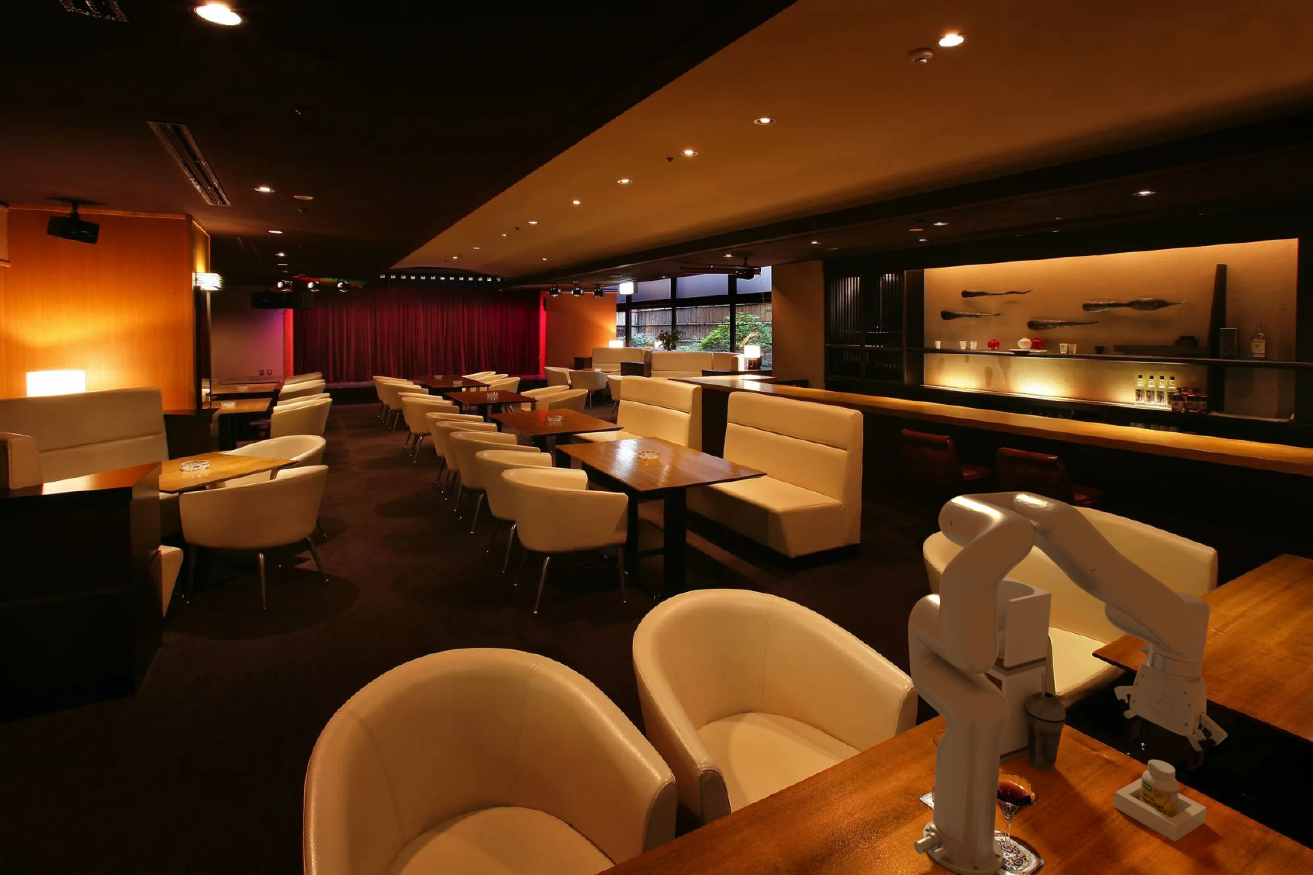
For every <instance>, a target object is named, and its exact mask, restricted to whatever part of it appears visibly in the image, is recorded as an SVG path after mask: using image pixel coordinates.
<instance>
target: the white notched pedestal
mask: <svg viewBox="0 0 1313 875" xmlns="http://www.w3.org/2000/svg"><path fill="white" fill-rule="evenodd" d="M1052 594H1053V593H1052V592H1050V591H1049V590H1045V589H1042V588H1040V587H1037V586H1034V585H1031V584H1028V583H1026V582H1024V581H1021V580H1018V579H1015V578H1013V577H1009V576H1008V575H1006V577H1005V578H1004V579H1003V581H1002V582H1001V584H1000V587H999V589H998V596H997V622H998V655H997V659H996V662H995V664H994V666H993V667H992V668H991V669H990V670H989V671H987V672H985V673H982V674H981V675H983V676H984V677H985V678H987V679H988V680H990V681H991V682H992V683H993V684H994V685H995V686H997V687H998V688H999V689H1000V691H1001V692H1002V693H1003V694H1004V696H1005V697H1006V699H1007V701H1008V704H1009V707H1010V718H1009V723H1008V726H1007V729H1006V732H1005V735H1004V738H1003V741H1002V746H1001V752H1000V761H999V765H1002V764H1004V763H1008V762H1010V761H1013V760H1016V759H1018V758H1021V757H1025V756H1028V723H1027V717H1026V710H1025V706H1026V704H1027V701H1028V699H1029V698H1030V697H1031V696H1032V695H1033V694H1035V693H1037V692H1042V679H1041V673H1044V683H1045V679H1046V667H1047V656H1048V655H1047V654H1048V642H1049V633H1050V632H1049V631H1050V629H1049V628H1050V618H1051V606H1052V597H1053V595H1052Z"/></svg>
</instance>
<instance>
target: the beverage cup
mask: <svg viewBox="0 0 1313 875" xmlns="http://www.w3.org/2000/svg"><path fill="white" fill-rule="evenodd" d="M1041 679H1042V692H1037V693H1035V694H1033V695H1032V696H1031V697H1030V698H1029V699H1028V701H1027V704H1026V706H1025V710H1026V717H1027V723H1028V755H1027V756H1028V764H1029V765H1030V766H1031V767H1032V768H1033V769H1035V770H1037V771H1040V772H1044V773H1050V772H1054V769H1055V765H1056V763H1057V762H1056V761H1057V759H1058V758H1057V756H1058V751H1059V747H1060V741H1061V736H1062V732H1063V728H1064V726H1065V724H1066V720H1067V715H1066V713H1067V712H1066V708H1065V706H1064V704H1063V702H1062V701H1061V700H1060V699H1059V697H1057V696H1056V695H1055V694H1053V693H1051V692H1048V691H1046V687H1045V686H1046V685H1045V682H1044V673H1041Z"/></svg>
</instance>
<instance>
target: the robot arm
mask: <svg viewBox="0 0 1313 875" xmlns="http://www.w3.org/2000/svg"><path fill="white" fill-rule="evenodd" d="M938 525H939V526H938V527H939V528H940V531H941V533H942V535H943V536H944V537H945V538H946V539H947V540H949V541H950V542H951V543H953V544H955V545H957V546H960V547H962V549H961V550H960V551H959V552H958V553H957V554H956V555H955V556H954V557H953V558H952V559H951V560H950V561H948V563H947V564H946V566H945V568H944V569H943V570H942V574H941V577H940V580H939V593H931V594H927V595H925V596H923V597H921V598H920V599H919V600H918V601H916V602H915V604H914V606H913V608H912V610H911V612H910V615H909V618H908V627H907V628H908V630H907V631H908V654H909V667H910V668H909V669H910V677H911V682H912V685H913V688H914V689H915V691H916V693H917V694H918V695H919V696H920V697H921V698H922V699H923V700H924V701H925V702H926V703H927V704H929V705H930V707H932V709H934V710H935V711H936V712H937V713H938V714H939V715H940V716H941V717H942V718H943V719H944V720H945V722H946V730H944V732H943V733H942V734H941V735H940V737H939V739H938V742H937V747H936V753H935V754H936V757H935V758H936V759H935V773H934V774H935V779H934V794H933V795H934V797H933V811H932V820H930V821H928V822H927V823H926V824H925V826H924V827H923V829H922V832H921V833H922V834H921V835H922V836H921V838H920V839H918V840H916V841H914V842H913V847H914V850H915V851H916V853H917V854H919V855H923V854H925V853H928V854H929V856H931V858H932V859H933V860H934V861H936V862H937V863H938V864H939V865H941V866H942V867H944V868H946V869H947V870H950V871H951V872H954V873H956V874H960V875H994V874H996V873H998V872H999V870H1000V869H1002V866H1003V863H1004V852H1003V849H1002V846H1001V844H1000V843H999V841H998V840H997V839H996V838H995V830H996V813H997V801H998V790H999V789H998V788H999V787H998V786H999V776H1000V775H999V773H1000V772H999V770H1000V764H999V761H1000V752H1001V746H1002V741H1003V738H1004V735H1005V732H1006V729H1007V726H1008V723H1009V718H1010V707H1009V704H1008V701H1007V699H1006V697H1005V696H1004V694H1003V693H1002V692H1001V691H1000V689H999V688H998V687H997V686H995V685H994V684H993V683H992V682H991V681H990V680H988V679H987V678H985V677H984V676H983V675H981V674H982V673H985V672H987V671H989V670H990V669H991V668H992V667H993V666H994V664H995V662H996V659H997V655H998V622H997V596H998V589H999V587H1000V584H1001V582H1002V581H1003V579H1004V578H1005V577H1006V576H1008V574H1009V573H1010V572H1011V571H1012V570H1013V569H1014V568H1015V567H1017V565H1019V564H1020V563H1021V562H1022V561H1024V560H1025V559H1026V558H1027V557H1028V555H1029V554H1030V553H1031V551H1032V550H1033V547H1036V548H1037V549H1039V550H1040V551H1041V552H1042V553H1044V554H1045V556H1047V557H1048V558H1049V559H1050V560H1051V562H1053V564H1055V566H1057V567H1058V568H1059V569H1060V570H1061V571H1062V572H1063V574H1065V575H1066V576H1067V577H1068V578H1069V579H1070V580H1071V581H1072V582H1073V583H1074V584H1075V585H1076V586H1077V587H1078V588H1080V589H1081V590H1083V591H1085V592H1086V593H1087V594H1089V595H1090V596H1092V597H1094V598H1096V599H1098V600H1099V601H1101V602H1103V603H1105V604H1104V614H1105V616H1106V619H1107V621H1108V622H1110V624H1112V626H1113V627H1115V628H1116V629H1118V630H1120V631H1122V632H1124V633H1126V634H1128V635H1130V636H1132V637H1134V638H1137V639H1139V640H1141V641H1143V642H1145V643H1147V644H1149V645H1145V644H1142V645H1141V646H1140V652H1141V653H1144V654H1145V655H1146V659H1144V660H1142V661H1141V663H1140V664H1139V667H1138V670H1137V672H1136V676H1135V679H1134V681H1133V685H1123V686H1122V685H1120V686H1117V687H1115V688H1114V689H1113V691H1114V693H1115V696H1116V699H1117V700H1118V701H1117V703H1118V705H1119V707H1120V708H1121V709H1122V712H1123V715H1124V717H1125V718H1126V721H1125V729H1124V732H1125V733H1126V735H1125V739H1126V740H1128V741H1133V740H1135V739H1137V738H1140V734H1141V725H1142V719H1145V720H1147V721H1148V722H1151V723H1153V724H1155V725H1156V726H1157V725H1158V726H1159V727H1162V728H1164V729H1166V730H1168V731H1171V732H1172V733H1176V734H1178V735H1180V736H1183V737H1186V738H1187V740H1188V741H1189V744H1191V746H1190V747H1188V750H1187V758H1186V763H1185V768H1186V770H1189V771H1193V770H1195V769H1197V768H1200V767H1202V765H1203V764H1204V758H1205V751H1206V749H1210V748H1213V747H1215V746H1217V745H1219V744H1220V743H1221V742H1222V741H1223V740H1225V739H1226V738H1227V737H1228V736H1229V735H1228V733H1227V732H1226V730H1224V729H1223V728H1222V727H1221V726H1219V725H1218V724H1217V723H1216V722H1215V721H1214V720H1213V719H1211V718H1210V717H1209V716H1208V715H1207V687H1206V680H1205V678H1204V677H1203V676H1202V675H1201V674H1202V668H1203V662H1204V655H1205V649H1206V643H1207V637H1208V636H1207V635H1208V629H1209V622H1210V615H1211V607H1210V605H1209V603H1208V602H1207V600H1205V599H1203V598H1202V597H1199V596H1197V595H1193V594H1190V593H1187V592H1181V591H1173V590H1172V589H1171V588H1169V587H1168V586H1167V585H1166V584H1164V583H1163V582H1161V581H1160V580H1158V579H1157V578H1155V577H1154V576H1153V575H1151V574H1150V573H1149V572H1147V571H1146V570H1144V569H1143V568H1142V567H1141V566H1139V564H1136V563H1134V561H1132V560H1130V559H1129V558H1127V557H1125V555H1123V554H1121V553H1120V552H1119V551H1118V550H1117V549H1116V548H1115V547H1114V546H1113V545H1112V544H1111V542H1110V541H1108V539H1107V538H1106V537H1105V536H1104V535H1103V534H1102V532H1100V531H1099V530H1098V529H1097V528H1096V527H1095V526H1094V525H1093V523H1091V522H1090V520H1088V518H1087V517H1086V516H1085V515H1084V514H1082V512H1081V511H1079V509H1077V508H1076V507H1075V506H1072V505H1071V504H1069V503H1067V502H1064V501H1061V500H1058V499H1054V498H1050V497H1047V496H1045V495H1041V494H1037V493H1033V492H1029V491H1005V492H992V493H991V492H990V493H974V494H962V495H957V496H955V497H953V498H951V499H950V500H948V501H947V502H946V503H945V504H944V505H943V506H942V508H941V510H940V512H939V515H938ZM1128 695H1130V698H1129V699H1128ZM1204 728H1205V729H1207V730H1208V731H1209V732H1210V733H1211V736H1210V737H1209V738H1207V737H1206V736H1205V735H1204V733H1203V730H1204Z"/></svg>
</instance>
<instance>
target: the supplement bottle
mask: <svg viewBox="0 0 1313 875" xmlns="http://www.w3.org/2000/svg"><path fill="white" fill-rule="evenodd" d="M1175 777H1176V769H1175V767H1174V766H1173V765H1172V764H1170V763H1168V762H1166V761H1163V760H1160V759H1159V760H1158V759H1150V760H1148V762H1147V770H1145V771H1143V773H1142V776H1141V778H1142V784H1141V796H1140V801H1142V802H1143V803H1145V804H1147V805H1149V806H1151V807H1152V808H1154V809H1156V810H1158V811H1160V812H1162V813H1163V814H1165V815H1167V816H1169V817H1171V818H1172V817H1174V816H1175V815H1177V814H1178V813H1177V802H1178V793H1179V790H1180V785H1179V782H1178V781H1177V779H1176V778H1175Z"/></svg>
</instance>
